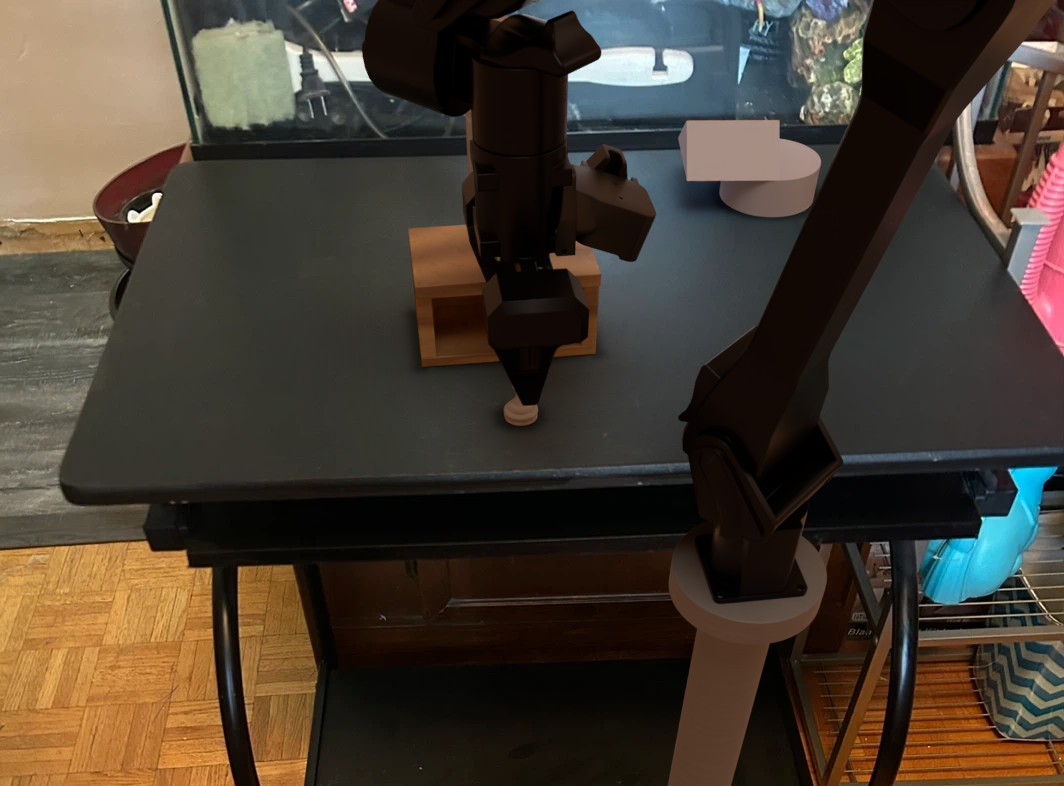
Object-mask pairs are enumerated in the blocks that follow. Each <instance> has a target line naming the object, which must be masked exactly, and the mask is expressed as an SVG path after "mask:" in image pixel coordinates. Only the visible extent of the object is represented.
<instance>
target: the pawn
mask: <svg viewBox="0 0 1064 786" xmlns="http://www.w3.org/2000/svg"><path fill="white" fill-rule="evenodd" d="M511 388H512V389H513V390H514V391H515V389H514V387H513V385H512V384H511ZM538 413H539V407H538V404H537V405H531V406H523V405H522V403H521V401H520V399H519V397H518V395H517V393H516V392H515V396H514V397H513V398H512V399H510V400H509V401H507V402H506V404H505V405H504V406H503V416H504V419H505V421H506V423H508V424H510V425H512V426H515V427H526V426H530V425H532V424H533V423H535V422H536V421H537V420H538V415H539V414H538Z"/></svg>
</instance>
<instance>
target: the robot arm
mask: <svg viewBox="0 0 1064 786" xmlns="http://www.w3.org/2000/svg"><path fill="white" fill-rule="evenodd" d="M542 1H543V0H377V1H376V2H375V3H374V6H372V10H371V11H370V13H369V16H368V19H367V23H366V27H365V29H364V30H365V31H364V40H363V41H362V43H361V55H362V56H361V57H362V62H363V66H364V69H365V71H366V75H367V76H368V79H369V80H370V81H371V83H372V84H373V86H374V87H375V88H376V89H378V90H379V91H380V92H382V93H384V94H387V95H390V96H393V97H395V98H398V99H401V100H403V101H406V102H408V103H411V104H414V105H417V106H420V107H422V108H425V109H428V110H430V111H433V112H436V113H439V114H442V115H444V116H447V117H451V118H457V117H462V116H464V115H465V114H466V113H467V112H468V111H469V110H471V119H472V140H470V157H471V162H472V167H473V171H472V172H471V173H470V174H469V175H468V174H467V176H466V177H465V179H464V180H463V181H462V182H461V197H462V210H463V216H464V222H465V225H466V227H467V232H468V237H469V242H470V245H471V247H472V250H473V252H474V254H475V257H476V259H477V262H478V264H479V267H480V269H481V271H482V274H483V276H484V278H485V281H486V283H487V284H486V285H485V286H484V287H483V288H482V300H483V313H484V323H485V328H486V334H487V339H488V344H489V345H490V347H491V348H493V349H494V351H495V353H496V355H497V357H498V359H499V360H500V361H499V362H500V364H501V366H502V368H503V370H504V372H505V373H506V375H507V377H508V380H509V381H510V383H511V386H512V385H513V387H514V389H515V390H514V389H513V390H514V391H515V394H516V393H517V395H518V397H519V399H520V401H521V403H522V405H523V406H531V405H537V406H538V404H539V403H540V400H541V396H542V392H543V390H544V387H545V384H546V380H547V377H548V374H549V371H550V368H551V365H552V363H553V359H554V358H555V357H554V355H555V352H556V350H557V349H558V348H559V347H560V346H562V345H570V344H574V343H581V342H583V341H584V340H585V339H587V338H588V328H589V307H588V304H587V300H586V297H585V294H584V291H583V288H582V284H581V281H580V280H579V279H578V278H577V277H575V276H574V275H573V274H572V273H571V272H570V271H569V270H568V269H567V268H562V269H554V268H553V265H552V261H551V258H550V253H555V255H556V256H572V255H575V250H576V241H577V242H578V243H580V244H582V245H584V246H587V247H591V248H593V250H594V249H595V250H598V251H601V252H604V253H607V254H611V255H614V256H617V257H618V259H619V260H620V261H624V262H628V263H635V262H636V261H637V260H638V258H639V256H640V253H641V251H642V249H643V247H644V244H645V241H646V240H647V238H648V236H649V233H650V230H651V228H652V226H653V223H654V221H655V219H656V216H657V211H656V208H655V207H654V204H653V201H652V199H651V197H650V194H649V192H648V191H647V189H646V188H645V187H644V186H643V185H641V184H640V182H639V181H638V178H637V177H634V176H631V177H630V179H628V163H627V160H626V158H625V154H624V153H623V150H622V149H620V148H617V147H614V146H612V145H608V144H604V143H603V144H601V145H600V146H599V147H598V148H597V149H596V150H595V151H594V152H593V154H591V156H589V157H588V158H587V160H581V161H580V164H575V163H571V161H570V158H569V148H568V145H567V144H568V135H567V134H568V103H569V101H568V100H569V99H568V97H569V96H568V95H569V75H570V74H572V73H574V72H577V71H578V70H580V69H582V68H585V67H587V66H589V65H591V64H593V63H595V62H597V61H598V60H600V59H601V58H602V48H601V47H600V44H598V42H597V41H596V38H594V36H593V35H592V34H591V33H590V32H589V31H588V30H587V29H585V27H583V25H582V24H581V22H580V20H579V18H578V16H577V13H576V11H574V10H572V9H570V10H567V11H565V12H562V13H561V14H558V15H556V16H554V17H552V18H549V19H548V20H547V19H543V18H540V17H537V16H533V15H529V14H526V13H516V12H518V11H520V10H523V9H526V8H528V7H530V6H533V5H535V4H537V3H540V2H542ZM1054 2H1056V0H871V1H870V4H869V8H868V12H867V15H866V19H865V23H864V27H863V30H862V39H861V40H862V42H861V45H862V47H861V80H860V81H861V83H860V85H861V87H860V93H859V97H858V101H857V103H856V107H855V108H854V111H853V113H852V115H851V118H850V120H849V122H848V124H847V127H846V129H845V130H844V133H843V136H842V138H841V140H840V142H839V144H838V147H837V149H836V151H835V153H834V156H833V157H832V160H831V162H830V164H829V167H828V169H827V170H826V174H825V175H824V177H823V180H822V182H821V184H820V187H819V189H818V191H817V193H816V196H815V197H814V199H813V202H812V204H811V206H810V209H809V210H808V213H807V215H806V218H805V220H804V222H803V225H802V226H801V229H800V231H799V233H798V235H797V238H796V240H795V241H794V242H795V243H794V244H793V246H792V249H791V251H790V254H789V256H788V258H787V259H786V262H785V265H784V267H783V269H782V271H781V273H780V276H779V277H778V280H777V282H776V284H775V287H774V289H773V291H772V293H771V296H770V298H769V299H768V302H767V304H766V306H765V309H764V311H763V313H762V315H761V318H760V320H759V322H758V323H757V325H754V326H752V327H751V328H750V329H749V330H747V331H746V332H745V333H744V334H742V335H741V336H739V337H738V338H737V339H735V340H734V341H733V342H732V343H730V344H729V345H728V346H726V347H725V348H724V349H722V350H721V351H719V353H717V354H716V355H715V356H713V357H712V358H711V359H709V360H708V361H706V363H704V364H703V365H701V367H700V370H699V371H698V373H697V376H696V379H695V382H694V387H693V391H692V392H693V393H692V396H691V399H690V402H689V403H688V405H687V407H686V409H685V410H684V411H682V412H681V413H680V414H679V415H678V416H677V419H678V421H679V422H683V423H686V424H685V426H684V428H683V430H682V435H681V436H682V437H681V449H682V453H684V454H685V455H687V458H688V459H687V460H688V465H689V470H690V475H691V481H692V486H693V489H694V490H693V491H694V496H695V502H696V506H697V513H698V516H699V517H700V518H701V519H704V520H706V521H707V522H709V521H710V522H712V523H713V524H714V531H713V534H706V535H698V536H696V537H695V540H694V546H695V549H696V552H697V555H698V558H699V561H700V564H701V567H702V570H703V573H704V576H705V578H706V581H707V584H708V587H709V590H710V593H711V596H712V599H713V601H714V602H715V603H717V604H729V603H740V602H750V601H761V600H771V599H781V598H792V597H802V596H804V595H806V593H807V589H808V587H807V584H806V582H805V580H804V577H803V575H802V573H801V570H800V568H799V565H798V563H797V561H796V558H795V556H796V552H797V549H798V545H799V541H800V538H801V536H802V535H803V531H804V526H805V523H806V519H807V516H808V512H809V507H810V498H811V497H812V496H813V495H814V494H815V493H816V492H818V490H820V489H821V488H822V487H823V486H826V485H827V484H828V483H829V482H830V481H831V480H832V478H833V477H834V476H835V475H836V474H837V473H838V471H839V470H840V469H841V468H842V467H843V465H844V459H843V457H842V455H841V453H840V452H839V450H838V448H837V446H836V443H835V442H834V440H833V438H832V437H831V434H830V433H829V431H828V429H827V427H826V425H825V423H824V422H823V420H822V418H821V413H822V410H823V407H824V405H825V402H826V398H827V394H828V392H829V390H830V389H829V388H830V379H829V377H830V375H829V360H830V357H831V354H832V351H833V350H834V348H835V346H836V344H837V342H838V340H839V338H840V337H841V335H842V333H843V331H844V330H845V327H846V325H847V323H848V322H849V321H850V318H851V317H852V314H853V312H854V311H855V309H856V308H857V305H858V303H859V301H860V300H861V298H862V296H863V294H864V292H865V290H866V288H867V286H868V285H869V283H870V281H871V279H872V277H873V276H874V274H875V272H876V270H877V268H878V267H879V264H880V263H881V261H882V259H883V257H884V255H885V253H886V251H887V249H888V248H889V246H890V244H891V243H892V240H893V238H894V237H895V235H896V233H897V231H898V229H899V227H900V226H901V223H902V222H903V221H904V218H905V216H906V215H907V213H908V211H909V209H910V207H911V205H912V203H913V202H914V199H915V198H916V196H917V194H918V192H919V190H920V189H921V187H922V185H923V183H924V181H925V179H926V177H927V176H928V175H929V172H930V170H931V168H932V166H933V165H934V162H935V161H936V159H937V158H938V155H939V153H940V151H941V150H942V148H943V146H944V144H945V142H946V140H947V139H948V137H949V135H950V133H951V131H952V129H953V127H954V125H955V124H956V122H957V120H958V119H959V118H960V116H961V115H962V114H963V113H964V111H965V110H966V109H967V108H968V106H969V105H970V104H971V103H972V102H973V100H974V99H975V98H976V97H977V95H979V94H980V93H981V91H983V89H984V88H985V87H986V85H988V84H989V82H990V81H991V80H992V78H993V77H994V76H995V75H996V74H997V73H998V72H999V71H1000V69H1001V68H1002V67H1003V66H1004V65H1005V63H1006V62H1008V60H1009V59H1010V58H1011V57H1012V55H1014V53H1015V52H1016V51H1017V50H1018V48H1019V47H1020V46H1021V45H1022V44H1023V43H1024V41H1025V40H1026V38H1027V37H1028V36H1029V35H1030V33H1031V32H1032V31H1033V30H1034V28H1035V27H1036V26H1037V24H1038V23H1039V22H1040V20H1042V18H1043V16H1044V15H1045V14H1046V13H1047V11H1048V10H1049V9H1050V7H1051V6H1052V5H1053V4H1054ZM513 13H515V14H513ZM506 15H508V17H507V18H506V19H504V20H503V21H502V22H500V21H497V20H494V19H499V18H502V17H504V16H506ZM509 15H510V16H509ZM535 263H536V264H535ZM799 589H801V590H799ZM718 596H721V597H718Z"/></svg>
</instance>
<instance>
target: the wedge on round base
mask: <svg viewBox="0 0 1064 786" xmlns="http://www.w3.org/2000/svg"><path fill="white" fill-rule="evenodd" d="M780 133H781V131H780V119H765V120H764V119H739V120H738V119H736V120H735V119H734V120H733V119H727V120H726V119H724V120H723V119H720V120H719V119H717V120H716V119H714V120H713V119H712V120H710V119H709V120H708V119H707V120H706V119H705V120H703V119H702V120H701V119H699V120H697V119H696V120H693V119H692V120H686V121H685V123H684V125H683V127H682V129H681V132H680V133H679V135H678V137H677V140H678V145H679V149H680V154H681V158H682V159H681V160H682V164H683V168H684V173H685V179H686V182H720V185H719V197H720V199H721V201H722V202H723V203H724V204H725V205H726V206H728V208H729V207H730V208H731V209H733V210H735V211H737V212H739V213H742V214H745V215H748V216H749V215H750V216H753V217H760V218H784V217H790V216H794V215H797V214H800V213H803V212H804V211H806V210H807V209H809V208H811V207H812V204H813V202H814V199H815V194H816V189H817V188H816V187H817V184H818V181H819V180H818V179H819V175H820V169H821V165H822V159H821V156H820V155H819V154H818V153H817V152H816V151H815V150H814V149H813V148H811V147H810V146H808V145H805V144H803V143H800V142H798V141H793V140H790V139H784V138H780V136H781V135H780Z"/></svg>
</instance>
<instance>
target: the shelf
mask: <svg viewBox="0 0 1064 786" xmlns="http://www.w3.org/2000/svg"><path fill="white" fill-rule="evenodd" d="M407 232H408V243H409V244H408V245H409V252H410V253H409V254H410V264H411V274H412V287H413V295H414V306H415V308H414V309H415V315H416V316H415V317H416V318H415V319H416V326H417V333H418V342H419V353H420V361H421V367H422V368H428V367H439V366H441V367H442V366H455V365H467V364H468V365H469V364H481V363H493V362H500V360H499V359H498V357H497V355H496V353H495V351H494V349H493V348H491V347H490V345H489V344H488V339H487V334H486V328H485V323H484V313H483V300H482V288H483V287H484V286H485V285H486V284H487V283H486V281H485V278H484V276H483V274H482V271H481V269H480V267H479V264H478V262H477V259H476V257H475V254H474V252H473V250H472V247H471V245H470V242H469V237H468V232H467V227H466V224H457V225H455V224H454V225H439V226H427V227H425V226H424V227H412V228H411V227H409V228H408V229H407ZM550 258H551V261H552V265H553V268H554V269H562V268H567V269H568V270H569V271H570V272H571V273H572V274H573V275H574V276H575V277H577V278H578V279H579V280H580V281H581V284H582V288H583V291H584V294H585V297H586V300H587V304H588V307H589V328H588V338H587V339H585V340H584V341H583V342H581V343H574V344H570V345H562V346H560V347H559V348H558V349H557V350H556V352H555V355H554V357H553V358H559V357H573V356H585V355H586V356H587V355H595V354H596V352H597V351H596V350H597V347H596V346H597V335H598V318H599V317H598V315H599V297H600V287H601V286H602V272H601V270H600V267H599V264H598V260H597V257H596V254H595V251H594V248H591V247H587V246H584V245H582V244H580V243H578V242H577V241H576V250H575V255H572V256H556V255H555V253H550ZM535 264H536V263H535Z"/></svg>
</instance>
